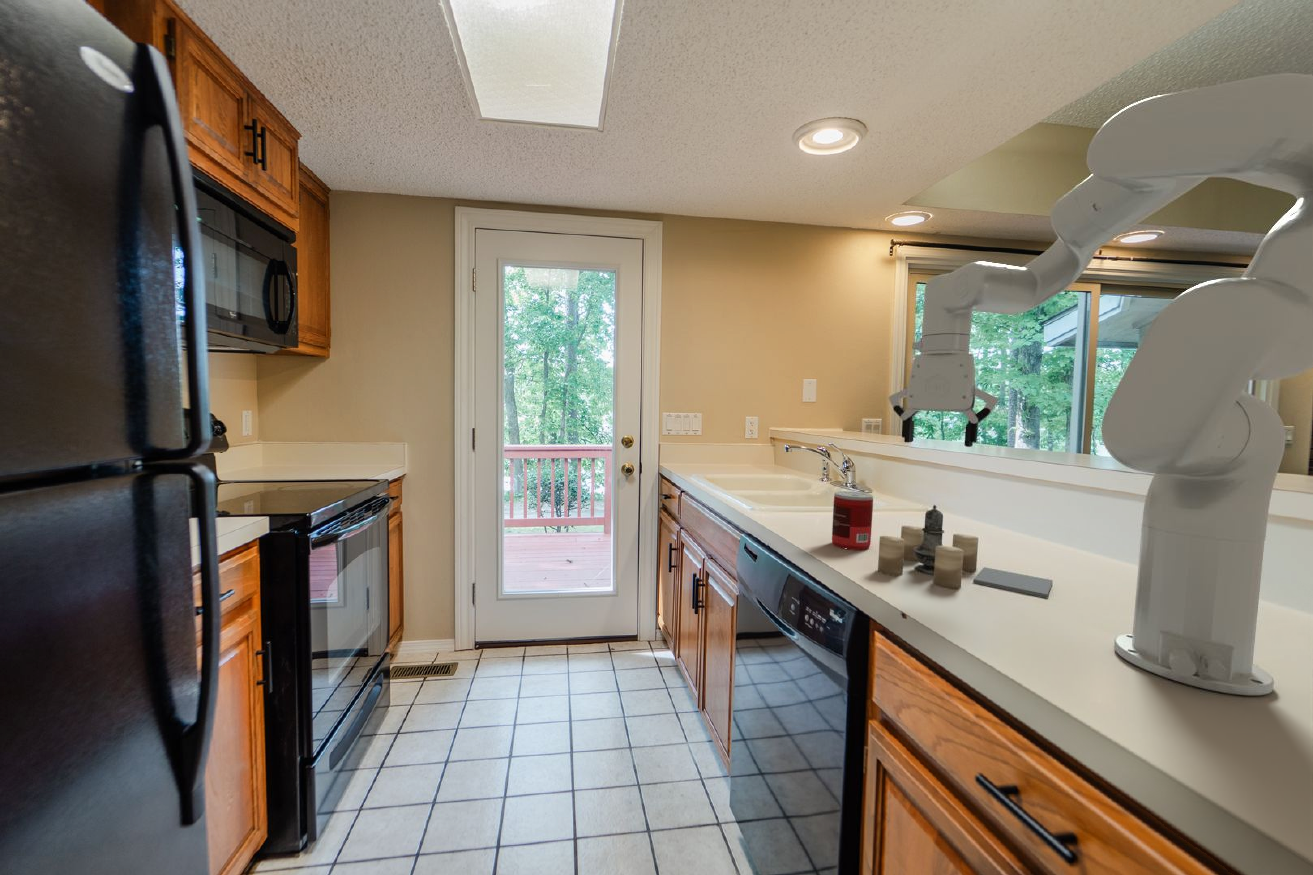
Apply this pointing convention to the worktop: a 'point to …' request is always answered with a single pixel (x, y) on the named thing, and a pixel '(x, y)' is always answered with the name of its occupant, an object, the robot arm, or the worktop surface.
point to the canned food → (852, 520)
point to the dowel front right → (948, 567)
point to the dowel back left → (911, 541)
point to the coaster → (1014, 582)
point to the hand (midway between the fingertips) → (937, 444)
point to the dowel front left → (891, 555)
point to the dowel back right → (967, 550)
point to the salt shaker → (930, 541)
